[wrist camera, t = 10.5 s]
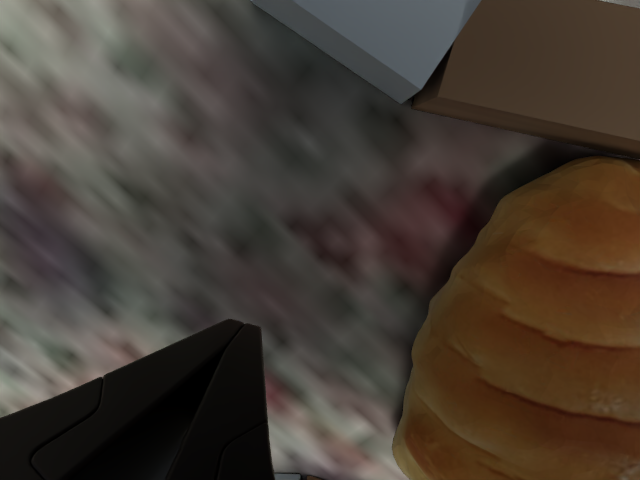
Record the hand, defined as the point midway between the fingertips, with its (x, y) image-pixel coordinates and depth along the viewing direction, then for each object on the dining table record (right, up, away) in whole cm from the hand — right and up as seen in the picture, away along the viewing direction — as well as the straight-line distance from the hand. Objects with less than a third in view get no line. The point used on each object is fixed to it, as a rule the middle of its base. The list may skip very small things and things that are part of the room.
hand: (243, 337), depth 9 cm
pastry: (+7, -1, +1) cm, 8 cm away
